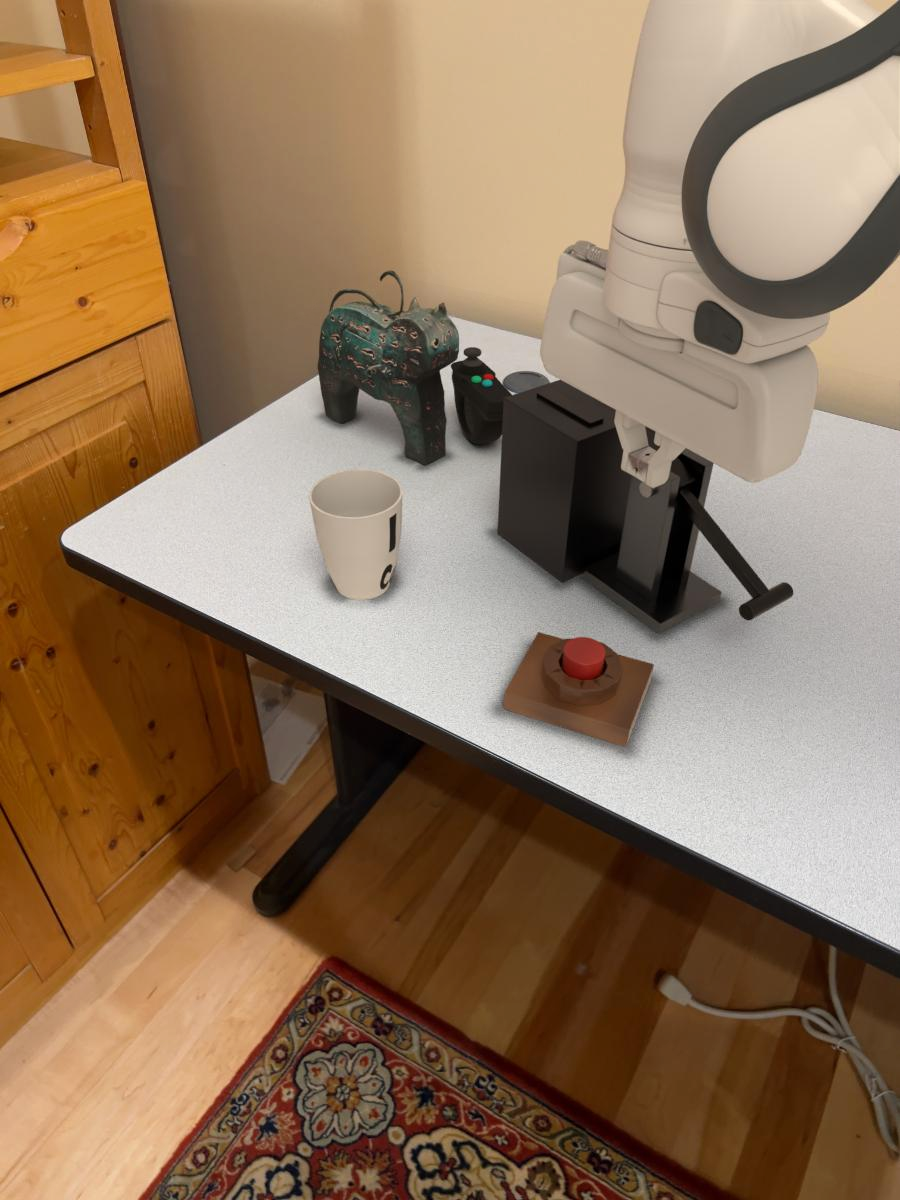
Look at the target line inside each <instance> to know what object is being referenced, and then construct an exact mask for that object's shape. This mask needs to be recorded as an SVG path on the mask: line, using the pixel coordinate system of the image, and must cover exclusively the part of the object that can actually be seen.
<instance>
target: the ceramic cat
mask: <svg viewBox="0 0 900 1200" xmlns="http://www.w3.org/2000/svg"><path fill="white" fill-rule="evenodd" d="M386 276H391V277H393V278H394V279H395V280H396V282H397V284H398V286H399V288H400V294H401V295H400V296H401V297H400V298H401V300H400V308H399V311H396V310H394V309H392V308H390V307H389V306H387V305H385V304H382V303H378V302H377V301H376V300H375V299H374V298H373V297H372V296H371V295H369V294H367V293H366V292H365V291H364V290H360V289H355V288H345V289H342V290H338V291H337V293H335V295H334V296H333V297H332V300H331V302H330V306H329V309H328V314H327V315H326V317H325V318H324V320H323V322H322V324H321V326H320V332H319V340H318V341H319V342H318V361H317V373H318V381H319V385H320V394H321V399H322V401H323V408H324V411H325V416H326V417H327V418H329V420H332V421H333V422H335V423H338V424H342V425H343V424H345V423H346V422H349V421H352V420H354V419H355V418H356V417H357V410H358V409H357V408H358V401H359V400H358V399H359V394H360V391H362V392H363V393H364V394H367V395H368V396H369V397H371V398H373V399H374V400H377V401H383V402H385V403H388V404H389V405H390V407H391V408H392V410H393V412H394V413H395V416H396V417H397V420H398V422H399V424H400V426H401V428H402V433H403V438H404V455H405V458H408V459H410V460H414V461H416V462H418V463H419V464H421V465H423V466H426V465H430V464H432V463H434V462H435V461H438V460H439V459H441V458H442V457H444V456H446V431H447V423H448V420H447V413H446V410H445V409H446V408H445V407H446V406H445V405H446V404H445V403H446V402H445V389H444V385H443V382H442V381H443V380H442V375H441V370H443V369H445V368H446V367H448V366H451V364H452V363H454V362H457V360H458V357H459V353H460V334H459V331H458V328H457V326H456V325H455V324H454V321H452V319H451V318H450V316H449V315H448V310H447V307H446V305H445V302H441V303H439V304H438V305H437V306H436V307H435V308H431V307H428V308H427V307H426V308H422V307H420V305H419V302H418V301H417V298H416V296H414V297H413V298H412V300H411V301H410V303H409V308H408V310H407V311H405V310H404V304H405V303H404V300H405V299H404V287H403V283H402V280H401V278H400V277H399V275H398V274H397V272H395V271H394V270H391V269H390V270H385V271H384V272H383V273H382V274H381V275H380V277H379V281H380V282H382V281H383V279H385V278H386ZM345 294H358V295H360V296H362V297H364V298H365V299H367V300H368V301H369V302H366V301H360V300H359V301H358V300H357V301H351V302H348V303H346V304H343V305H341V306H338V307H337V306H336V307H335V308H334V305H335V303H336V302H337V301H338V300H339V298H340V297H341V296H343V295H345Z"/></svg>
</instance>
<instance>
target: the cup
mask: <svg viewBox="0 0 900 1200" xmlns="http://www.w3.org/2000/svg"><path fill="white" fill-rule="evenodd" d="M308 499H309V505H310V508H311V509H310V510H311V515H312V519H313V526H314V531H315V537H316V540H317V543H318V546H319V549H320V552H321V556H322V558H323V563H324V566H325V568H326V570H327V573H328V574H329V576H330V578H331V580H332V582H333V584H334V586H335V588H336V590H337V592H338V593H339V594H340V595H342V596H343V597H344V598H347V599H350V600H353V601H354V600H355V601H367V600H371V599H375V598H378V597H380V596H382V595H383V594H385V593H386V592H387V590H388V589H389V588H390V585H391V582H392V578H393V576H394V573H395V570H396V568H397V567H396V566H397V563H398V557H399V549H400V543H401V538H402V529H403V528H402V527H403V526H402V525H403V487H402V484H401V483H400V482H399V481H398V480H397V479H396V478H395V477H394V476H392V475H390V474H387V473H385V472H383V471H380V470H374V469H367V468H355V469H354V468H353V469H345V470H341V471H340V470H339V471H336V472H334V473H330V474H327V475H326V476H323V477H322V478H320V479H319V480H317V481H316V482H315V483H314V484H313V485H312V487H310V490H309V494H308Z"/></svg>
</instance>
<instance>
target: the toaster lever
mask: <svg viewBox="0 0 900 1200" xmlns="http://www.w3.org/2000/svg"><path fill="white" fill-rule="evenodd" d="M670 471H671V472H673V473H674V474H676V475H678V476H680V483H679V488H678V493H677V498H676V501H677V502H678V503H679V505H680V506H681V507H682V509H683V510H684V511H685V512H686V514H687V515H688V516H689V518H690V519H691V520H692V521H693V523H694V524H695V525H696V526H697V528H698V529H699V533H701V534H702V535H703V537H704V538H705V540H706V541H707V542H708V543H709V544H710V546H711V547H712V548H713V550H714V551H715V552H716V553H717V555H718V556H719V557H720V558H721V560H722V561H723V563H724V564H725V565H726V566H727V567H728V569H729V570H730V571H731V573H732V574H733V575H734V577H735V578H736V579H737V580H738V582H739V583H740V585H742V587H743V589H745V591H746V592H747V593H748V594H749V596H750V597H751V598H750V599H749V600H747V601H745V602H744V603H742V604H740V605H739V606H738V613H739V615H740V616H741V618H742V619H743V620H745V621H747V622H750V621H752V620H754V619H756V618H758V617H760V616H762V615H763V614H765V613H767V612H769V611H771V610H772V609H774V608H776V607H777V606H779V605H781V604H782V603H785V602H786V601H788V600H790V599H791V598H793V597H794V589H793V586H792V585H791V584H790V583H789V582H785V581H782V582H780V583H778V584H776V585H774V586H772V587H771V588H769V587H768V586H766V584H765V582H763V580H762V579H761V578H760V577H759V575H758V574H757V572H756V571H755V570H754V569H753V568H752V566H751V565H750V564H749V563H748V561H747V559H745V558H744V556H743V555H742V554H741V553H740V551H739V550H738V549H737V548H736V546H735V545H734V544H733V542H732V540H730V539H729V537H728V536H727V534H726V533H725V532H724V531H723V530H722V528H721V527H720V526H719V525H718V523H717V522H716V520H714V518H713V517H712V516H711V514H709V512H708V511H707V510H706V508H705V506H704V507H703V506H702V505H701V503H700V502H699V501H698V500H697V498H696V497H695V496H694V495H693V493H692V492H691V491H690V490H689V487H690V485H691V484H692V483H693V482H694V480H695V478H694V477H693V476H692V474H691V473H690V472H689V471H688V469H687V468H686V467H685V466H684V464H683V463H682V462H681V461H680V459H679V458H678V457H676V458H675V459H674V460H673V461H672V463H671V468H670Z"/></svg>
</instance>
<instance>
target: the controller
mask: <svg viewBox="0 0 900 1200" xmlns="http://www.w3.org/2000/svg"><path fill="white" fill-rule="evenodd" d="M463 355H464V356H465V357H466V358H465V359H463V360H458V361H454V362H453V363H451V364H450V368H451V370H452V372H451V381H452V387H453V397H454V405H455V411H456V415H457V418H458V420H457V421H458V423H459V426H460V428H461V431H462V433H463V435H464V436H465V438H466V439H467V440H468V441H470V442H471V443H473V444H476V445H484V444H488V443H493V442H496V441H497V440H499V439H500V438H502V426H503V405H504V398H505V397H508V396H511V395H513V394H512V393H511V392H510V390H509V389H507V387H506V386H504V384H503V383H502V382H501V380H499V379H498V378H497V376H496V374H497V373H496V372H495V371H494V370H493V369H491V367H490V366H489V365H488V364H486V363H485V362H484V361H482V360H481V359H480V358H478V357H480V356H482V349H480V348H479V347H475V346H470V347H466V348H464V349H463Z"/></svg>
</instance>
